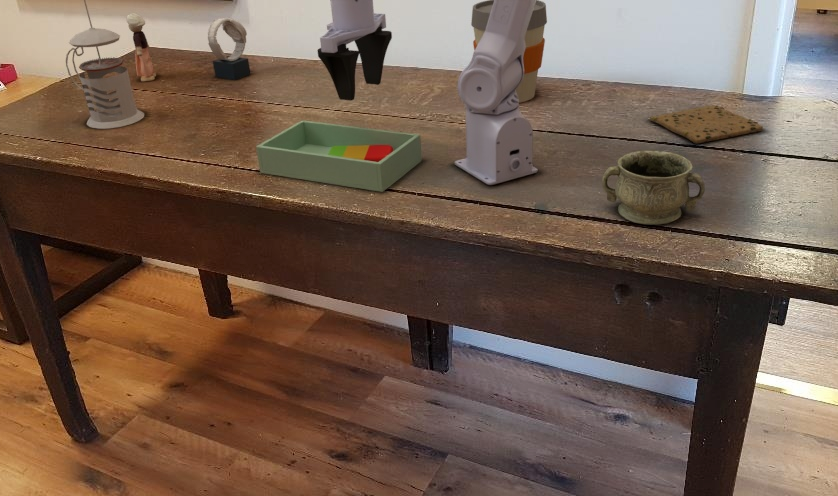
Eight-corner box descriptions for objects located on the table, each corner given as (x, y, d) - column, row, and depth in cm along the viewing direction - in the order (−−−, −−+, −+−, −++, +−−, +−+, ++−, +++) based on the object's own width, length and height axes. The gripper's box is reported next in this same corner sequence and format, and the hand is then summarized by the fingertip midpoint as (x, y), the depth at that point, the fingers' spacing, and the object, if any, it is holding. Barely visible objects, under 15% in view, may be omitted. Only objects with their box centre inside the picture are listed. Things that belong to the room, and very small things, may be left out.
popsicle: (390, 170, 112) (389, 157, 111) (286, 172, 113) (284, 160, 112) (395, 156, 116) (394, 143, 115) (294, 158, 118) (292, 145, 117)
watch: (257, 71, 161) (248, 15, 156) (228, 82, 156) (218, 24, 150) (237, 68, 164) (228, 13, 158) (208, 79, 159) (197, 21, 153)
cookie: (712, 107, 128) (713, 101, 127) (764, 130, 118) (765, 124, 118) (647, 119, 125) (648, 113, 124) (695, 144, 115) (696, 137, 114)
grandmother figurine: (138, 75, 164) (122, 11, 157) (157, 72, 165) (142, 8, 158) (138, 85, 158) (122, 18, 151) (158, 82, 158) (143, 16, 152)
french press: (121, 130, 134) (79, -28, 121) (65, 126, 138) (19, -29, 125) (155, 111, 142) (120, -39, 129) (102, 108, 146) (62, -39, 133)
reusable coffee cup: (543, 106, 133) (546, 13, 125) (468, 106, 135) (466, 14, 127) (546, 84, 144) (548, -4, 136) (476, 84, 146) (475, -2, 138)
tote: (421, 161, 116) (420, 134, 113) (382, 192, 107) (380, 164, 105) (305, 145, 124) (302, 120, 122) (260, 172, 115) (255, 146, 113)
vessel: (593, 221, 96) (597, 172, 93) (606, 192, 103) (609, 145, 100) (698, 232, 92) (705, 182, 89) (703, 201, 99) (710, 153, 96)
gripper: (352, -20, 114) (361, 75, 121) (295, 1, 103) (309, 104, 111) (395, -19, 112) (402, 78, 119) (342, 3, 101) (353, 108, 108)
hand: (360, 91), depth 114 cm, fingers open, 7 cm apart
